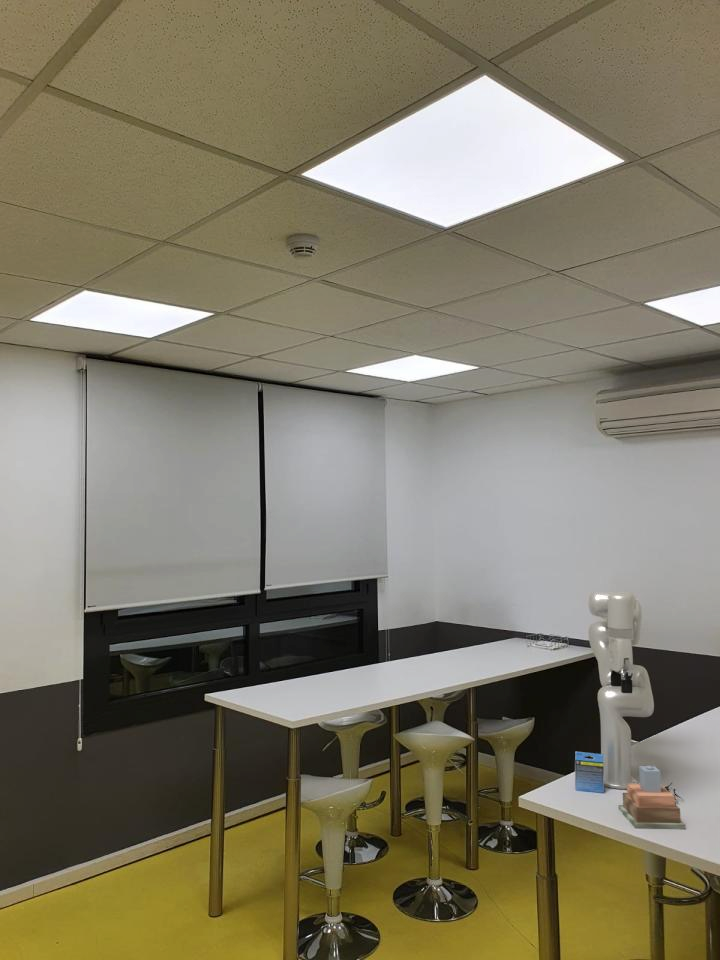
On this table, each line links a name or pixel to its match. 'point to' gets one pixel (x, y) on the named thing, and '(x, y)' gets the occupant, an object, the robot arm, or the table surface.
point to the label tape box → (589, 772)
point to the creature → (674, 792)
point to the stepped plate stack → (651, 809)
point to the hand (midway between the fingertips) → (621, 689)
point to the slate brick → (650, 779)
